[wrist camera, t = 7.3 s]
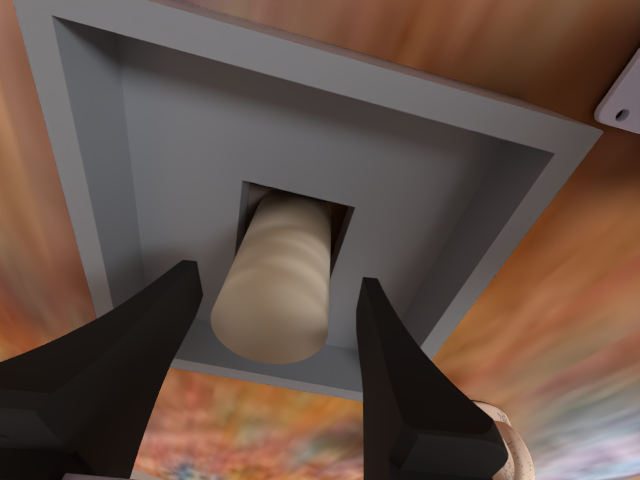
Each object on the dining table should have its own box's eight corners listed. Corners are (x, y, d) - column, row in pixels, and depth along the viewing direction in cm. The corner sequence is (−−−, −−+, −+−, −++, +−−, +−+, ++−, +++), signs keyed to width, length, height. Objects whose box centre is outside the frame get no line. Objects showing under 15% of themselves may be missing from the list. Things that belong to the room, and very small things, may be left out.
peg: (334, 187, 17) (332, 290, 10) (329, 251, 19) (324, 367, 13) (253, 182, 17) (200, 281, 10) (259, 247, 19) (219, 360, 13)
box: (525, 100, 14) (604, 131, 10) (385, 342, 24) (394, 407, 20) (115, -18, 12) (2, -41, 8) (149, 295, 22) (106, 355, 18)
